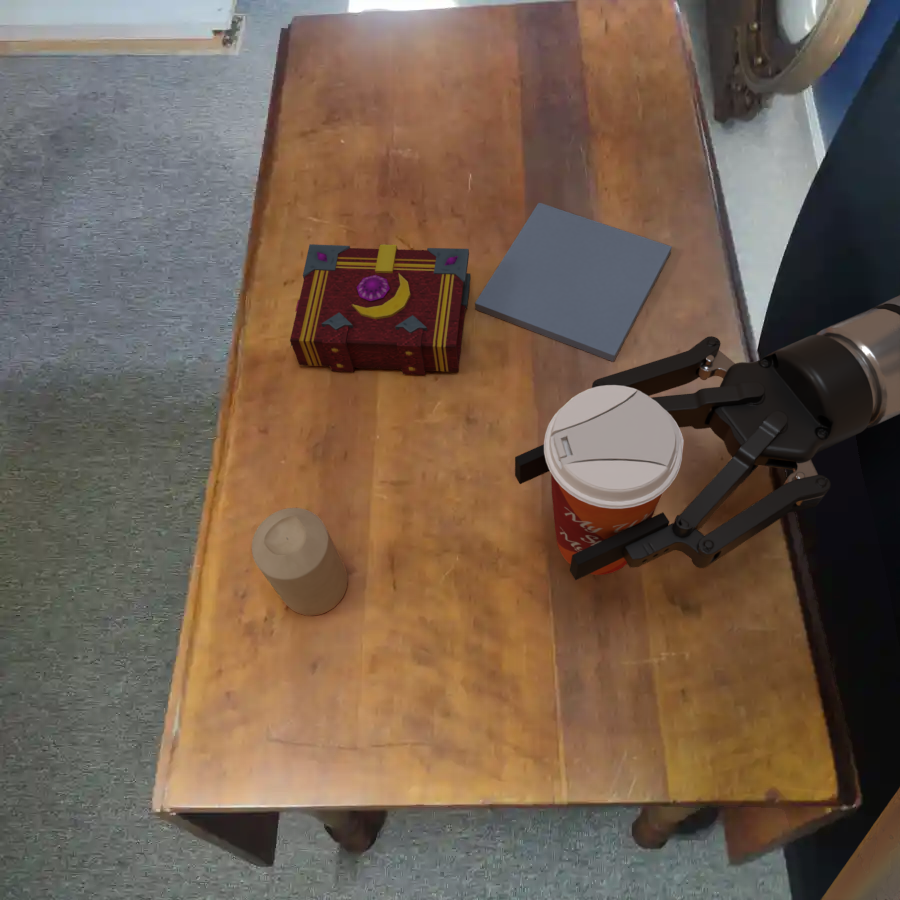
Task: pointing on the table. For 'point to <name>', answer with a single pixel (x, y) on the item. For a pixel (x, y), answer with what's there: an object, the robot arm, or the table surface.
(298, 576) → the candle
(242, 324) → the table surface
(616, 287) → the cup mat
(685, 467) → the table surface
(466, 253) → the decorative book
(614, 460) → the coffee cup
